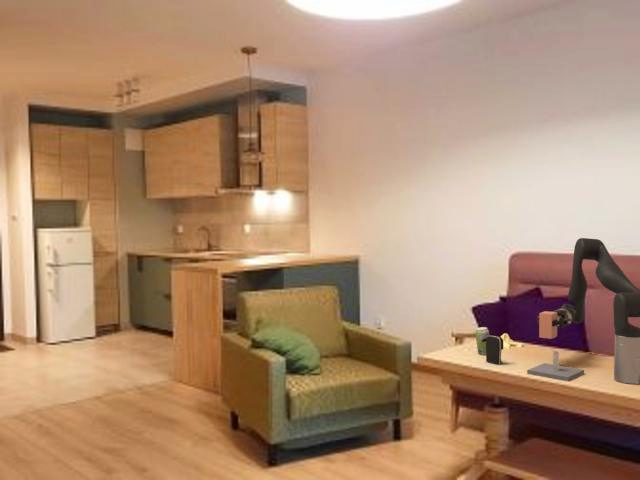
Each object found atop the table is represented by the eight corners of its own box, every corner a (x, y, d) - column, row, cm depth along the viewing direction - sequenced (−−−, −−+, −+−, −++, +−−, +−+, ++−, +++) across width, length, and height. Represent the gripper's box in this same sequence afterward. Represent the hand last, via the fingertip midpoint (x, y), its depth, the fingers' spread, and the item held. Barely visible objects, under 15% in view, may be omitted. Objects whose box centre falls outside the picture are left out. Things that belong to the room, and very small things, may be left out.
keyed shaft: (557, 368, 246) (557, 351, 246) (558, 371, 242) (558, 353, 242) (552, 368, 246) (553, 351, 246) (554, 370, 243) (554, 353, 242)
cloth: (505, 340, 314) (506, 328, 314) (533, 347, 298) (533, 334, 297) (471, 344, 304) (471, 331, 304) (498, 351, 287) (498, 338, 287)
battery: (504, 363, 260) (504, 336, 260) (498, 365, 258) (499, 337, 258) (491, 360, 266) (491, 334, 266) (485, 362, 264) (485, 335, 264)
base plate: (584, 373, 245) (584, 369, 245) (567, 381, 233) (568, 377, 233) (544, 366, 256) (544, 363, 256) (527, 373, 244) (527, 369, 244)
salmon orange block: (557, 336, 258) (557, 312, 258) (551, 338, 253) (551, 314, 252) (545, 334, 261) (545, 311, 261) (539, 337, 256) (539, 313, 256)
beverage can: (494, 354, 278) (494, 328, 277) (480, 356, 275) (480, 329, 274) (485, 352, 283) (486, 325, 283) (472, 353, 281) (472, 326, 280)
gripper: (543, 307, 272) (528, 312, 259) (577, 310, 263) (564, 315, 250) (543, 324, 273) (528, 330, 259) (577, 328, 264) (563, 334, 250)
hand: (546, 323), depth 255 cm, fingers closed on salmon orange block, 5 cm apart
